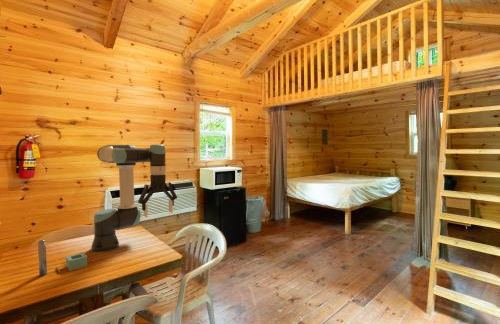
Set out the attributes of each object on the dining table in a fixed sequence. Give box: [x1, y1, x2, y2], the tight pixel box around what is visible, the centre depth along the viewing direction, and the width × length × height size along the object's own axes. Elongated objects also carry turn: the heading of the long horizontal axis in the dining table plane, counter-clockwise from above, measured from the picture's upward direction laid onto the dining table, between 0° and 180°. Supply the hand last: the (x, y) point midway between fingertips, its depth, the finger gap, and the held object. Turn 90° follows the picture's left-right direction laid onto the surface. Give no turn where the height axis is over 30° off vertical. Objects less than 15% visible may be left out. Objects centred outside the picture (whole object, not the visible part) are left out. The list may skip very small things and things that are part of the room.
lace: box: [55, 266, 62, 274], centre depth 133 cm, size 8×1×1 cm, turn 45°
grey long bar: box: [37, 239, 48, 277], centre depth 129 cm, size 3×3×17 cm
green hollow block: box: [65, 252, 88, 272], centre depth 138 cm, size 8×8×5 cm
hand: (158, 214), depth 138 cm, fingers open, 13 cm apart
